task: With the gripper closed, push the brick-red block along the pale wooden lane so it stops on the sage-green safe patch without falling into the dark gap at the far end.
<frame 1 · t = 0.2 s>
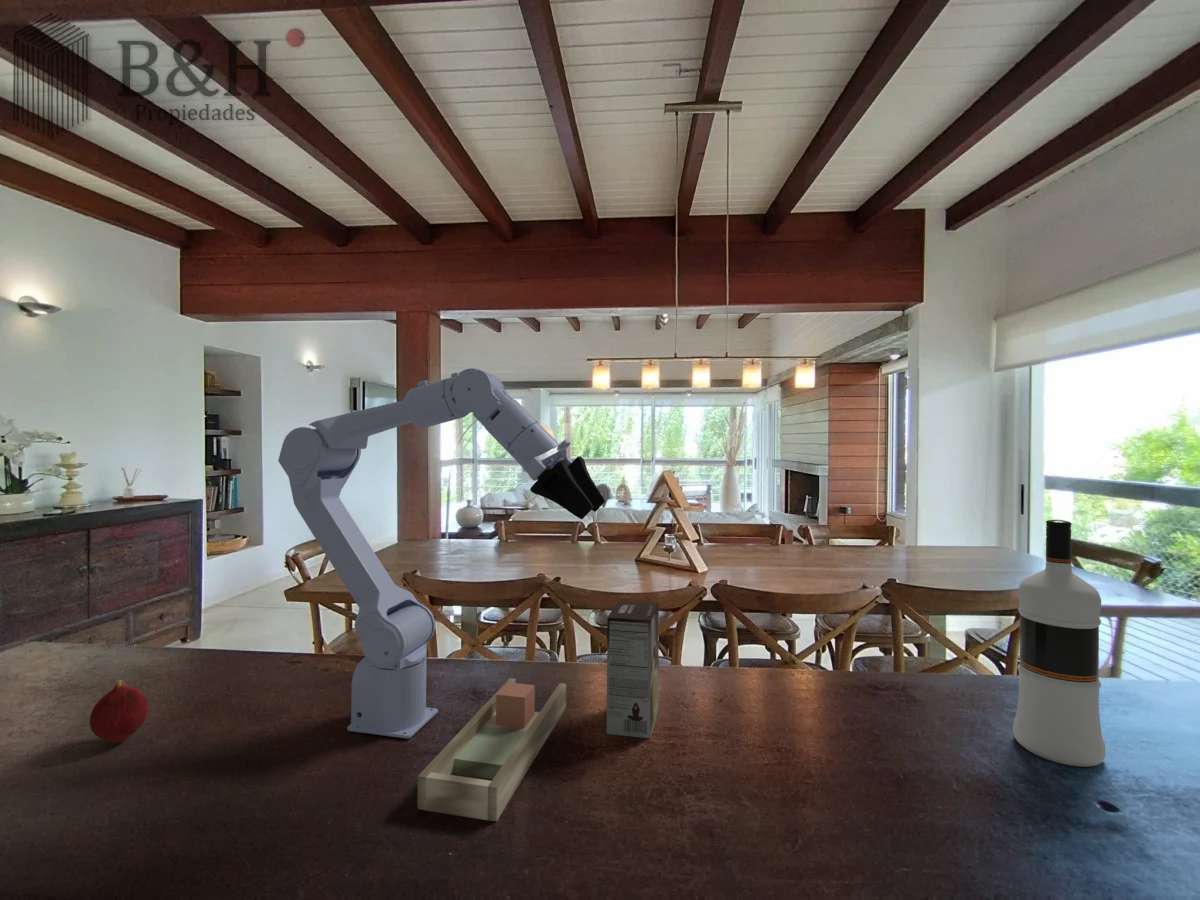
hand: (594, 510, 73), 31 cm above the counter, tool tilted 45°, fingers open, 7 cm apart
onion: (119, 744, 72), on the counter
block: (515, 719, 75), point 2 cm above the counter, touching trap lane
vodka: (1057, 751, 72), on the counter
trap lane: (504, 749, 71), on the counter
coffee box: (633, 723, 79), on the counter
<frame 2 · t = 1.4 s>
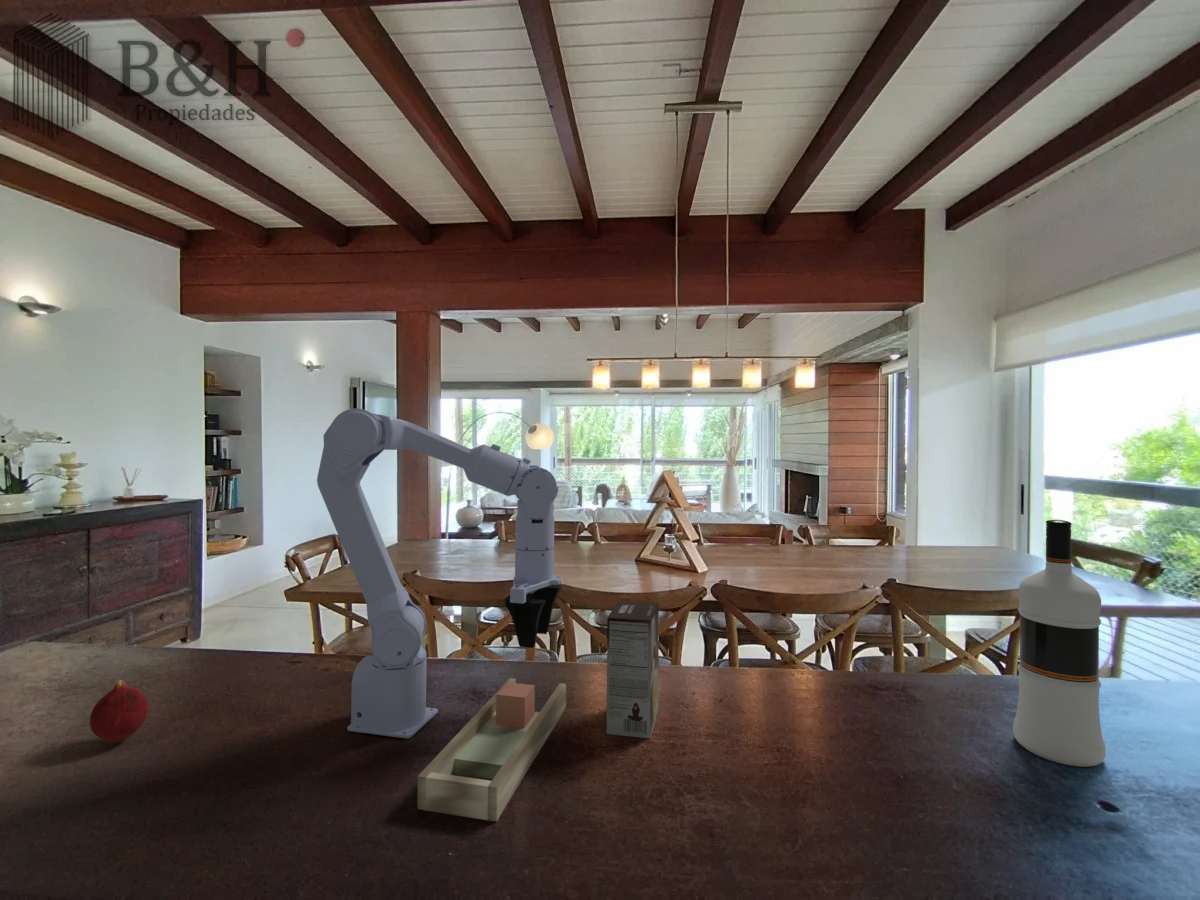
hand: (533, 639, 82), 10 cm above the counter, tool pointing down, fingers open, 5 cm apart
nothing on the counter moved.
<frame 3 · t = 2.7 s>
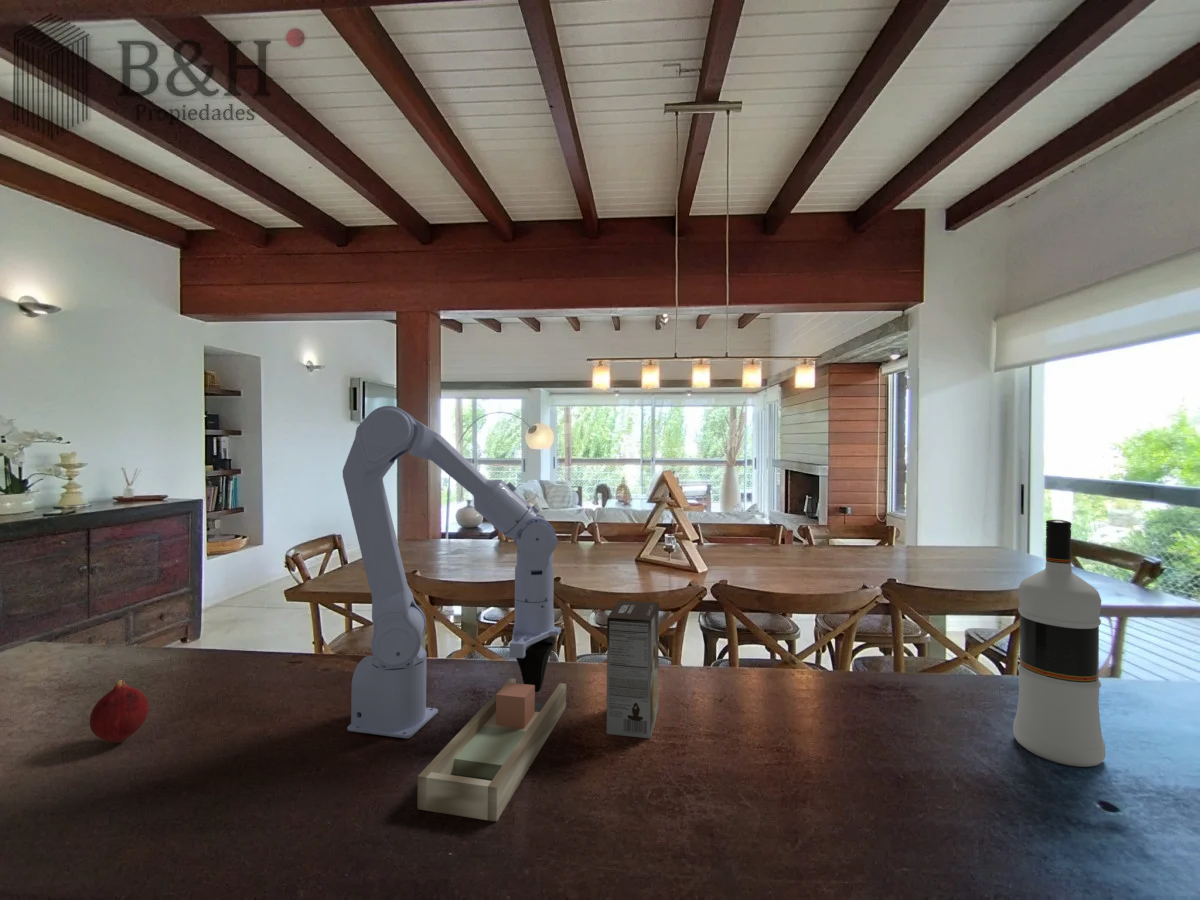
hand: (533, 689, 82), 3 cm above the counter, tool pointing down, fingers closed
nothing on the counter moved.
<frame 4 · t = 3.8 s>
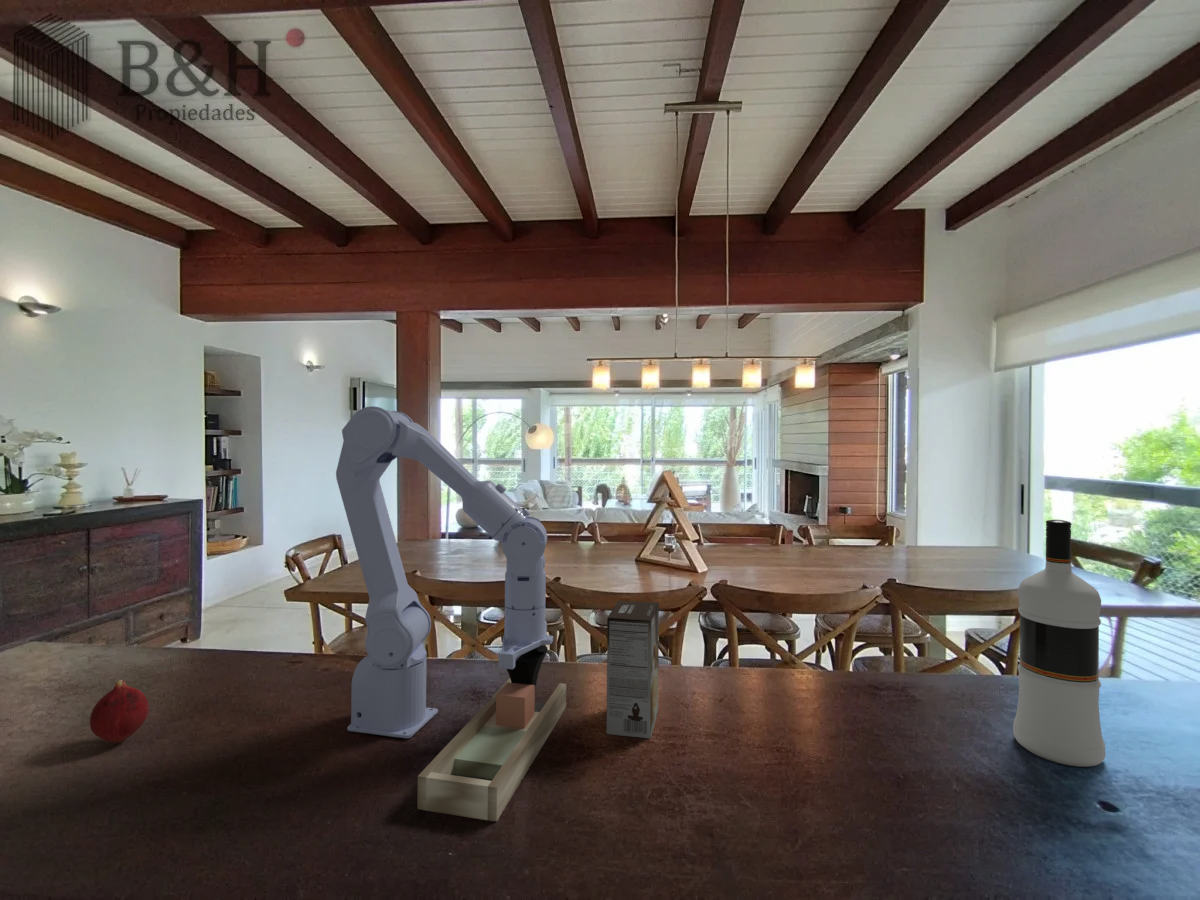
hand: (524, 701, 78), 3 cm above the counter, tool pointing down, fingers closed
block: (515, 719, 75), point 2 cm above the counter, touching gripper, trap lane
everything else where it was.
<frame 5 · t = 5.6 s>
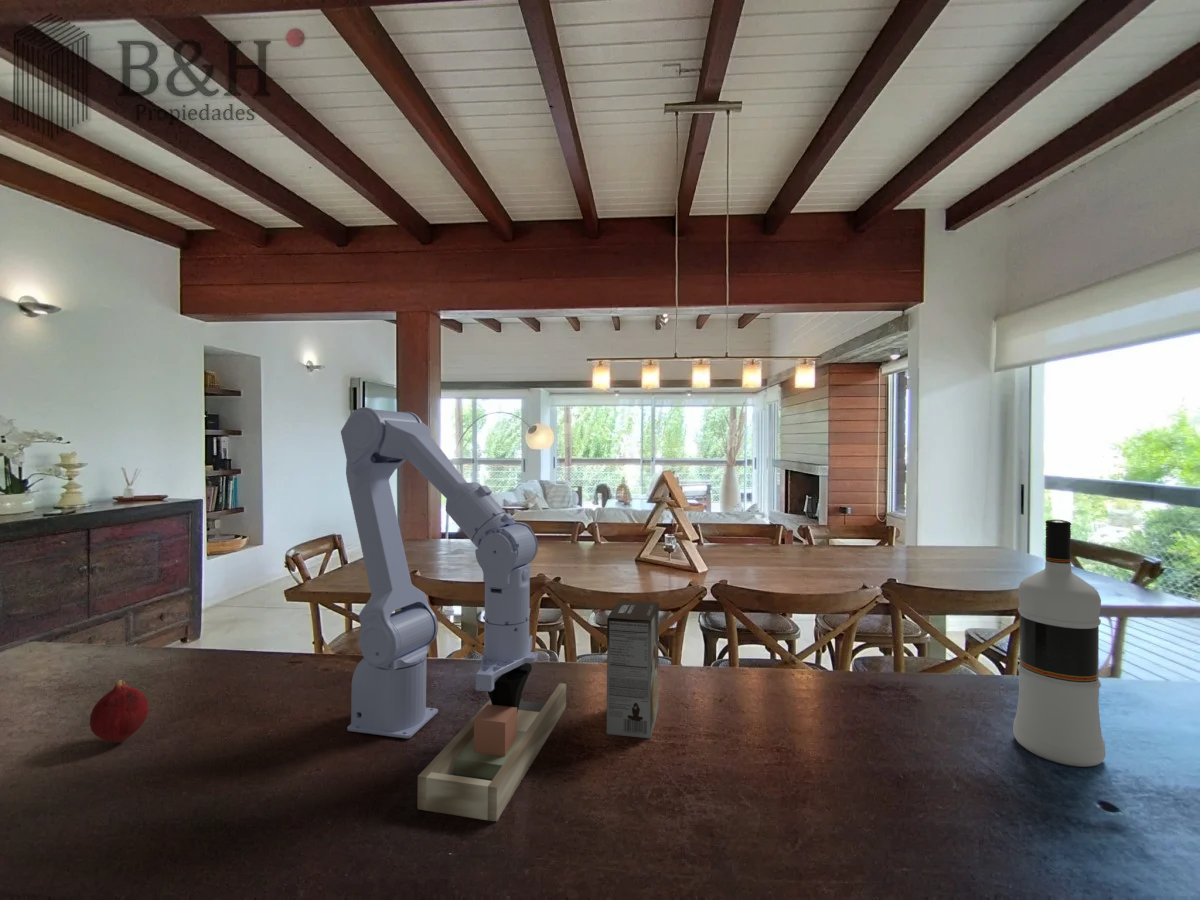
hand: (506, 724, 72), 3 cm above the counter, tool pointing down, fingers closed
block: (495, 745, 68), point 2 cm above the counter, touching gripper, trap lane
everything else where it was.
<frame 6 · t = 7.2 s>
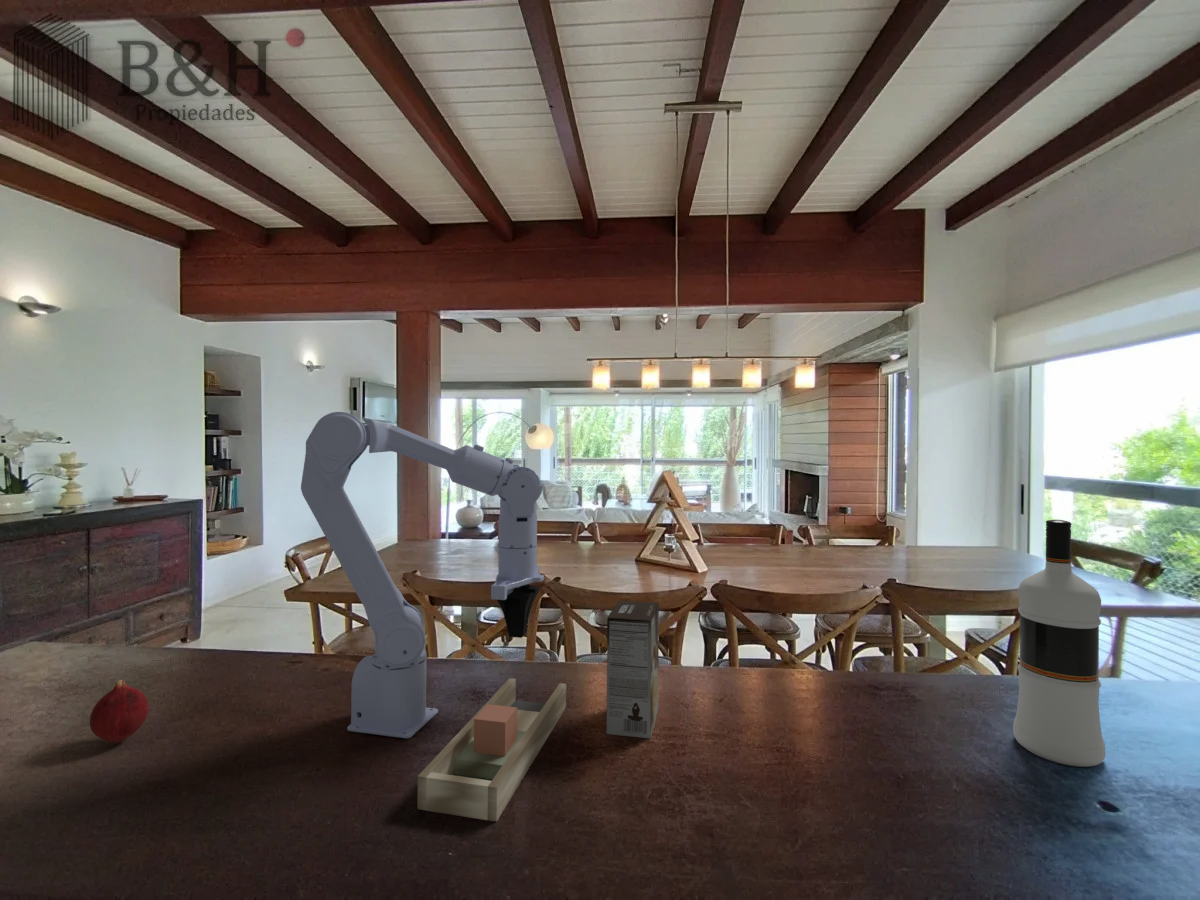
hand: (517, 635, 84), 10 cm above the counter, tool pointing down, fingers closed
block: (495, 745, 68), point 2 cm above the counter, touching trap lane
everything else where it was.
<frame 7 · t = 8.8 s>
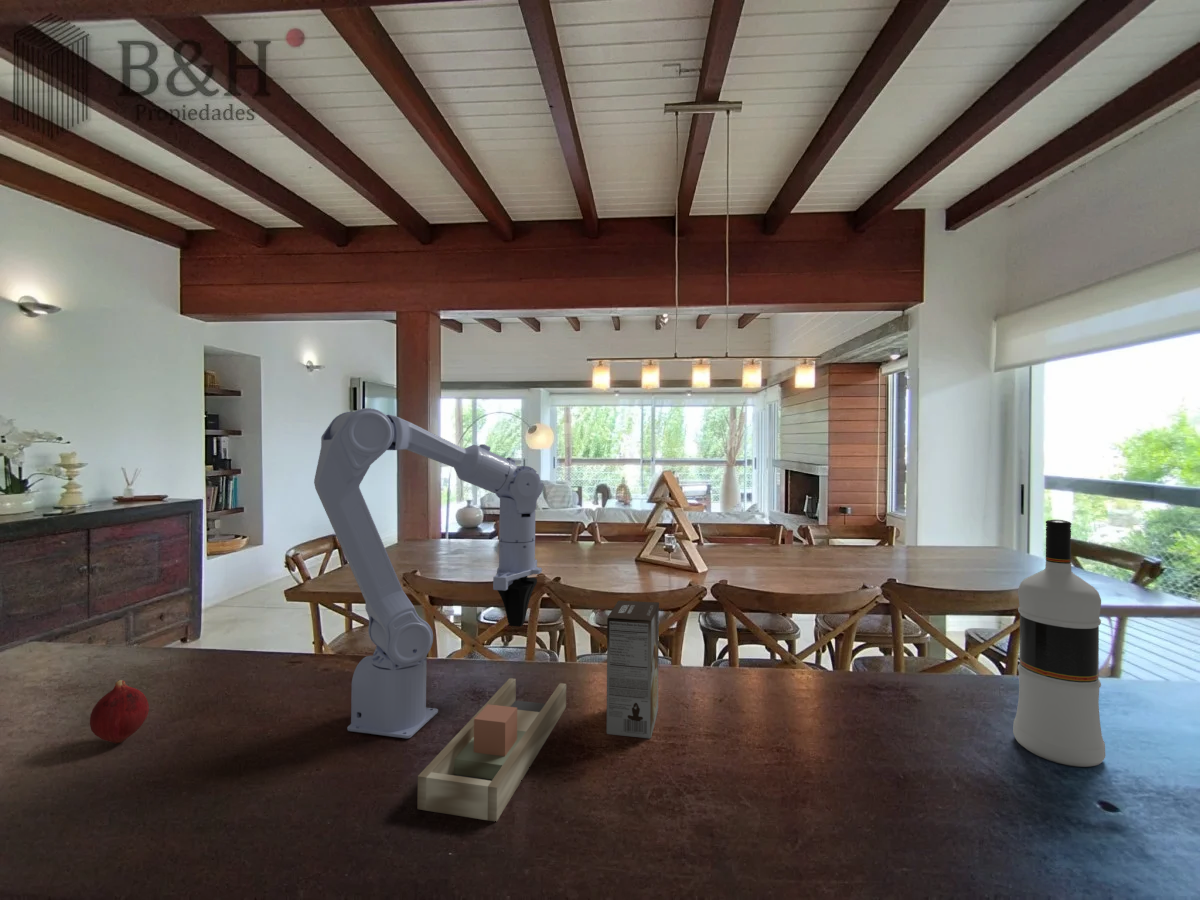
hand: (516, 624, 89), 10 cm above the counter, tool pointing down, fingers closed
nothing on the counter moved.
at the end: block 0.2 cm from the target spot, point 2.0 cm above the counter; block tilted 0°; block moved 6.9 cm from its start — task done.
